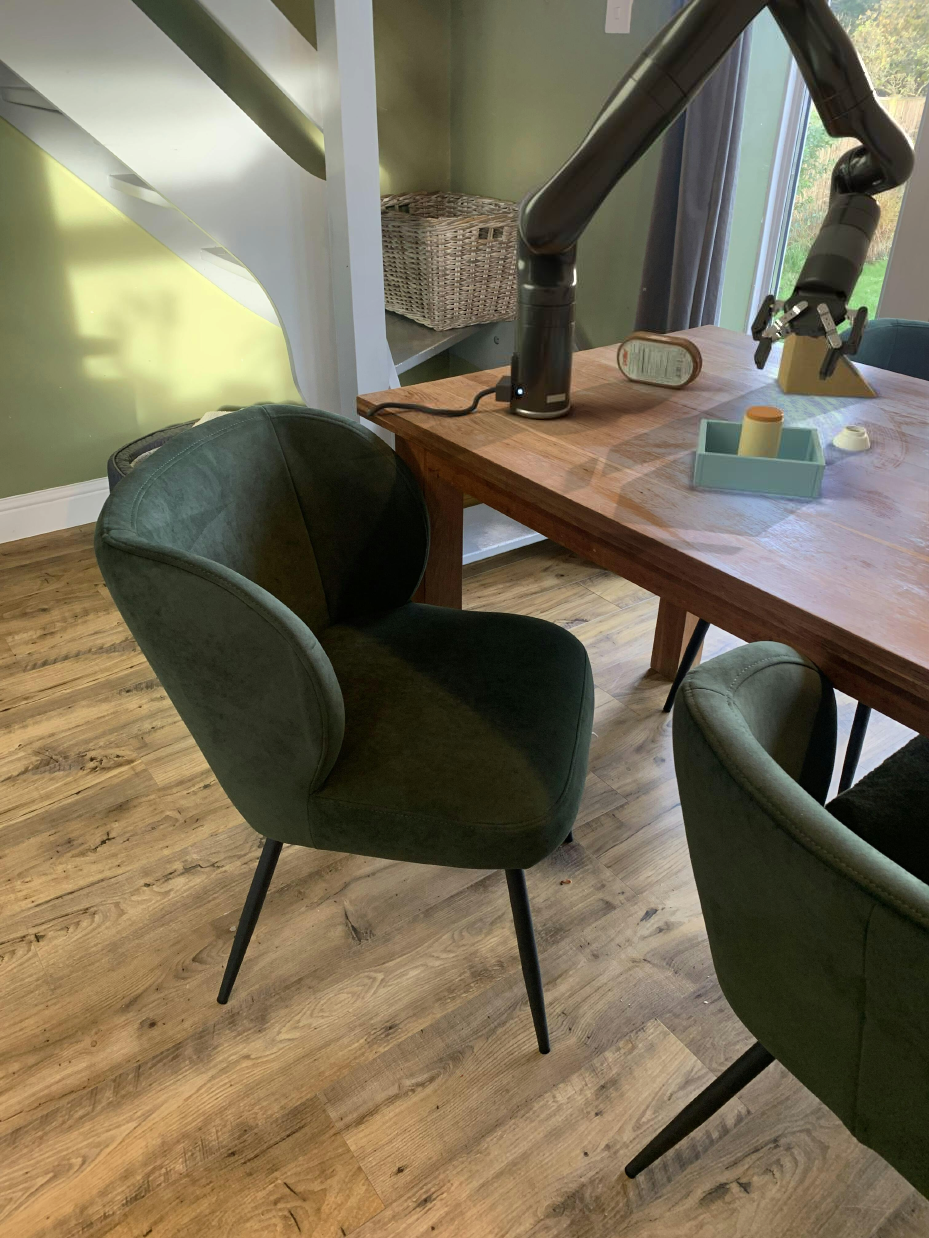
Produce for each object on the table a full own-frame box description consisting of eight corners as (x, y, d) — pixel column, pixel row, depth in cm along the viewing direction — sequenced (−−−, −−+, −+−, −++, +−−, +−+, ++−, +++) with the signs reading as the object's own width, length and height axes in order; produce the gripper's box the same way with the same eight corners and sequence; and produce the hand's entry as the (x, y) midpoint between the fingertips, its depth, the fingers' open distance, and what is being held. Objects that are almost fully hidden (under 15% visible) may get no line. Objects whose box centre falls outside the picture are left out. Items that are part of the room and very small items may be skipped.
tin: (699, 388, 152) (706, 339, 147) (692, 393, 150) (700, 343, 145) (619, 375, 159) (623, 327, 154) (612, 379, 156) (616, 331, 152)
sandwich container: (878, 398, 148) (902, 306, 140) (784, 394, 149) (802, 303, 141) (866, 383, 155) (888, 294, 147) (776, 379, 157) (793, 291, 149)
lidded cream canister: (734, 477, 117) (745, 416, 113) (734, 463, 122) (745, 403, 117) (773, 481, 116) (786, 419, 112) (772, 467, 120) (784, 407, 116)
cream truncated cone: (825, 443, 130) (844, 455, 126) (829, 424, 128) (849, 436, 124) (855, 440, 131) (875, 453, 126) (860, 421, 129) (880, 433, 125)
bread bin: (692, 490, 115) (698, 453, 113) (696, 452, 126) (701, 418, 124) (816, 502, 112) (825, 465, 109) (809, 463, 123) (817, 428, 120)
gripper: (778, 246, 121) (735, 348, 119) (886, 256, 114) (843, 365, 112) (782, 280, 127) (742, 377, 125) (885, 292, 120) (844, 395, 119)
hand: (790, 371), depth 119 cm, fingers open, 8 cm apart
